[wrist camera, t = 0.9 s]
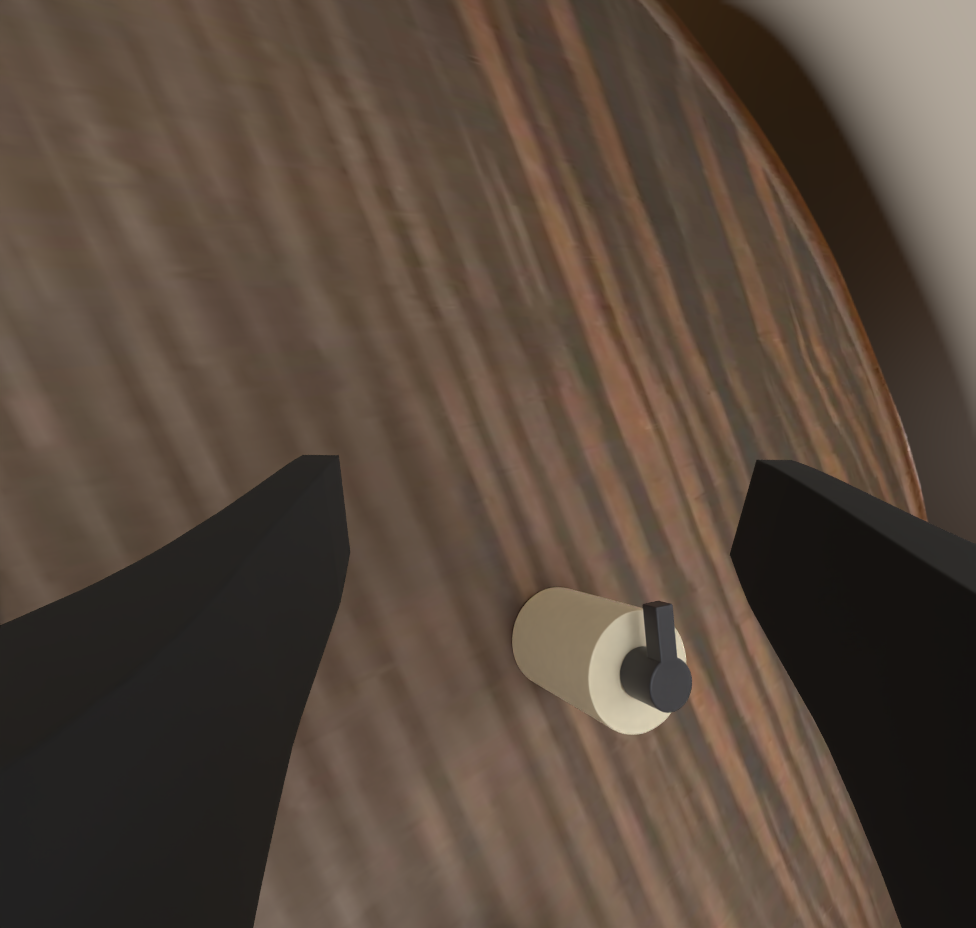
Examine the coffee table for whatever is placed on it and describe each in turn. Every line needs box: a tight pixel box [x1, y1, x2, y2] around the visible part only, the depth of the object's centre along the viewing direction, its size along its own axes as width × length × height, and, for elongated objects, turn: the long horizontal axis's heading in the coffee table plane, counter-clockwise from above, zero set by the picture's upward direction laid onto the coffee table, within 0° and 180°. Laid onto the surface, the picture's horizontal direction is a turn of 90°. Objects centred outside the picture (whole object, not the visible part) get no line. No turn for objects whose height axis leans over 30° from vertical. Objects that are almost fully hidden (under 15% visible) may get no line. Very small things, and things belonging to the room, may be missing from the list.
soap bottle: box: [512, 587, 692, 735], centre depth 25 cm, size 5×5×8 cm
